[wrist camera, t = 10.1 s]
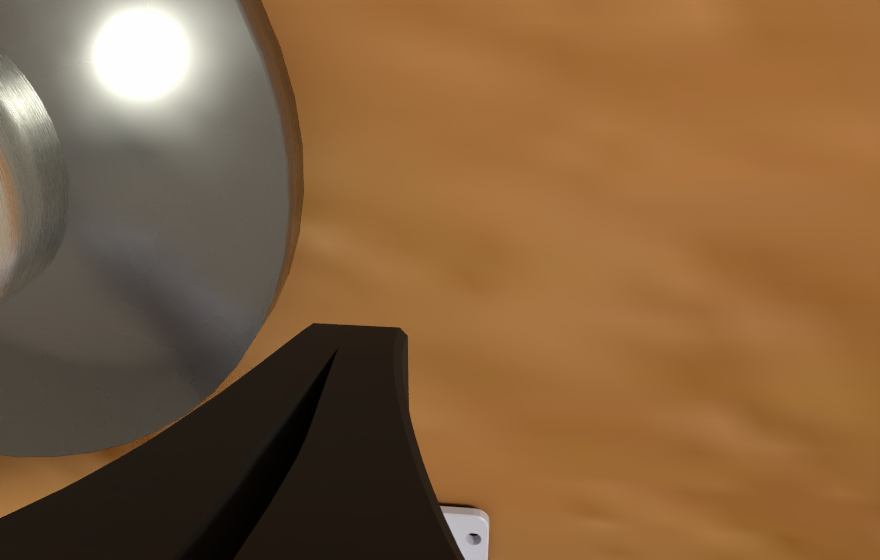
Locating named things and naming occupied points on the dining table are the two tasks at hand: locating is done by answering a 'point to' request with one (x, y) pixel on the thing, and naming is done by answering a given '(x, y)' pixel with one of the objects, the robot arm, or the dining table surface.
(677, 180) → the dining table surface
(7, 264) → the cover
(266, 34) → the disc
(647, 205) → the dining table surface
